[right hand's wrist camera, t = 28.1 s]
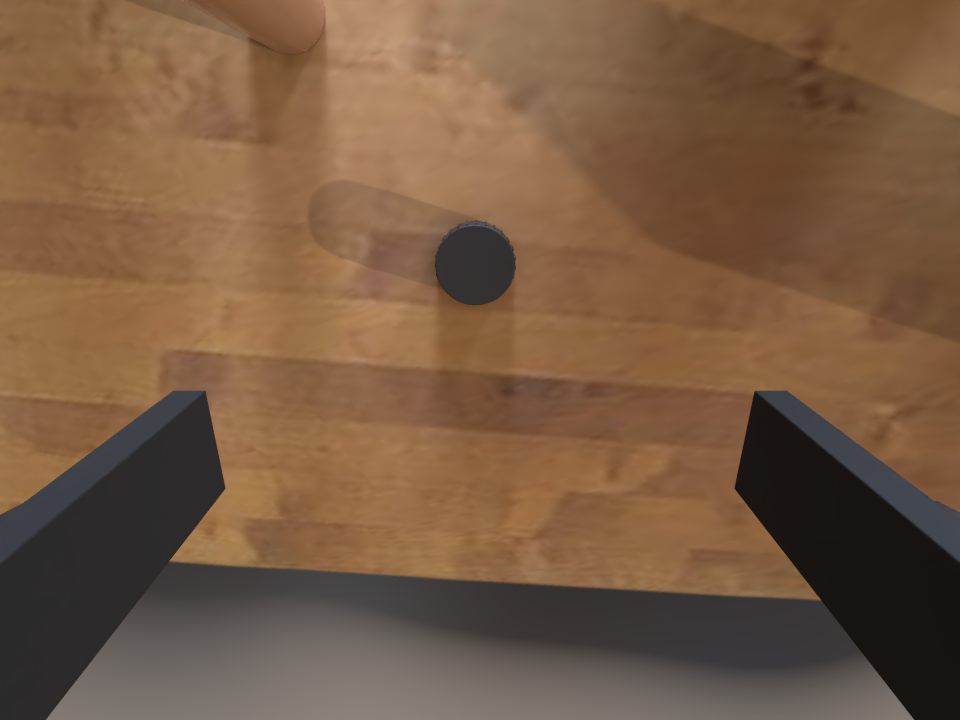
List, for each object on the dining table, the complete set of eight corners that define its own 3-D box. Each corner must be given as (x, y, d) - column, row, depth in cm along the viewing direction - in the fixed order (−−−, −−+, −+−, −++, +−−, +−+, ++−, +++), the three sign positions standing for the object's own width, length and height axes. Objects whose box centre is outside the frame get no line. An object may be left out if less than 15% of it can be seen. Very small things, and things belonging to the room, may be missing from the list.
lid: (430, 289, 38) (427, 297, 36) (444, 212, 36) (442, 215, 34) (504, 304, 38) (506, 313, 36) (522, 229, 36) (524, 233, 34)
